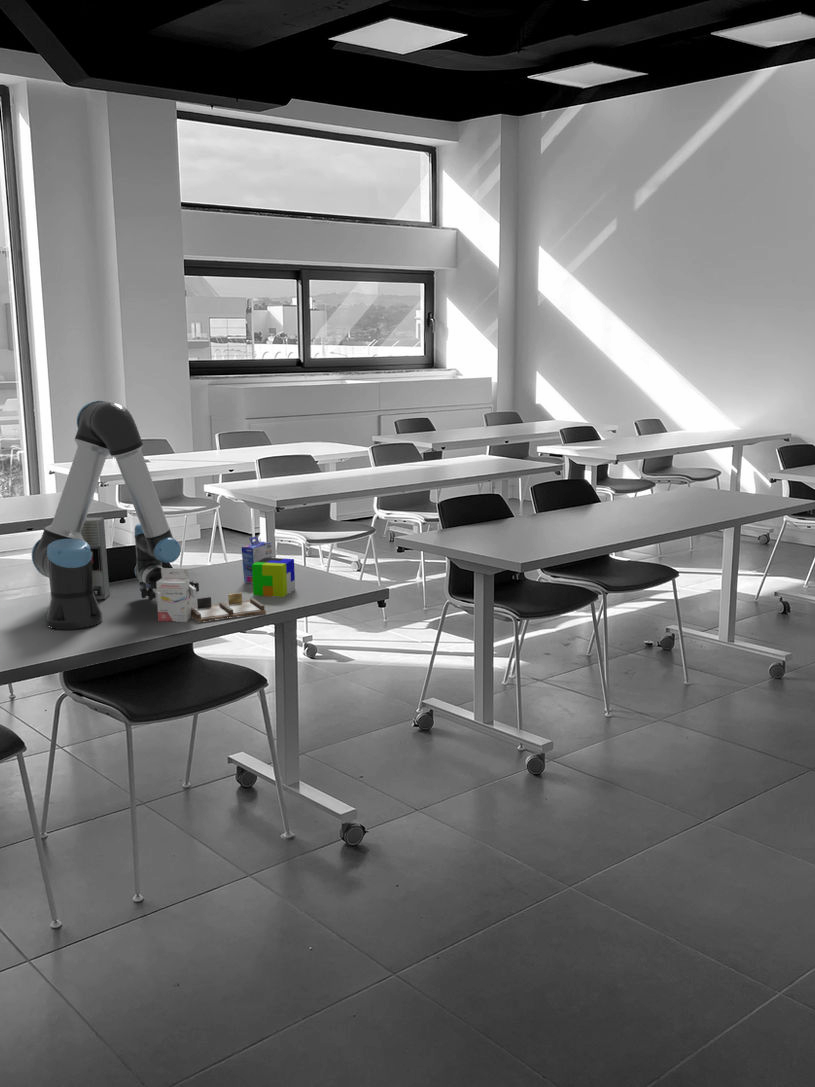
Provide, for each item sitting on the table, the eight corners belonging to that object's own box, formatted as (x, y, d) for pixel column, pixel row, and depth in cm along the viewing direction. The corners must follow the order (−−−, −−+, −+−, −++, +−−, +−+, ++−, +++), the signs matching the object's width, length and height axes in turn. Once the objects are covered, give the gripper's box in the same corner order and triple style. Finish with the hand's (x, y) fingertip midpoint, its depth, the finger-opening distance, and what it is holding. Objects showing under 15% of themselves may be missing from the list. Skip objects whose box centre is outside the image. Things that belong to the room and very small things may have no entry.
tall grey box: (60, 601, 327) (53, 521, 322) (66, 596, 333) (59, 518, 328) (104, 600, 327) (98, 520, 322) (110, 595, 333) (104, 517, 328)
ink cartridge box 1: (157, 621, 302) (154, 571, 299) (163, 617, 307) (160, 567, 304) (186, 622, 301) (183, 571, 298) (192, 617, 306) (189, 567, 303)
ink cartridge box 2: (261, 576, 355) (259, 534, 352) (274, 578, 352) (272, 535, 350) (242, 582, 347) (240, 539, 344) (255, 584, 344) (253, 541, 341)
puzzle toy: (295, 589, 337) (293, 559, 335) (283, 597, 328) (282, 565, 326) (266, 588, 340) (264, 557, 338) (253, 595, 330) (252, 564, 328)
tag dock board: (198, 623, 300) (198, 609, 299) (185, 611, 312) (184, 598, 311) (265, 613, 309) (265, 600, 308) (250, 603, 321) (249, 590, 320)
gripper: (194, 587, 323) (216, 603, 304) (121, 596, 314) (139, 613, 294) (193, 563, 322) (214, 578, 302) (119, 571, 312) (137, 587, 293)
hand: (177, 595), depth 298 cm, fingers closed on ink cartridge box 1, 9 cm apart
